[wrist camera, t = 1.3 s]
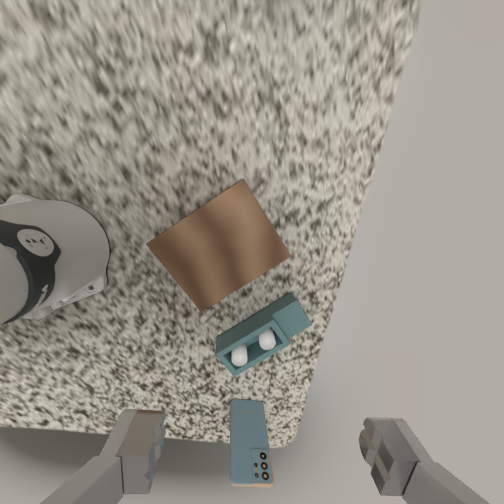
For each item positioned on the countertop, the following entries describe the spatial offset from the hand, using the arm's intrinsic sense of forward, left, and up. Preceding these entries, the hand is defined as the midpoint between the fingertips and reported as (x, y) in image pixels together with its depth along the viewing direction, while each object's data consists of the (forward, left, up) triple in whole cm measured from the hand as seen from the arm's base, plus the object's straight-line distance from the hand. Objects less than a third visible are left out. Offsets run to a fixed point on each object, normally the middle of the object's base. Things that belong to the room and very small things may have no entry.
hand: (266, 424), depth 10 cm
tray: (-9, -17, -33) cm, 38 cm away
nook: (-2, +2, -33) cm, 33 cm away
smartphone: (-19, -31, -33) cm, 49 cm away
